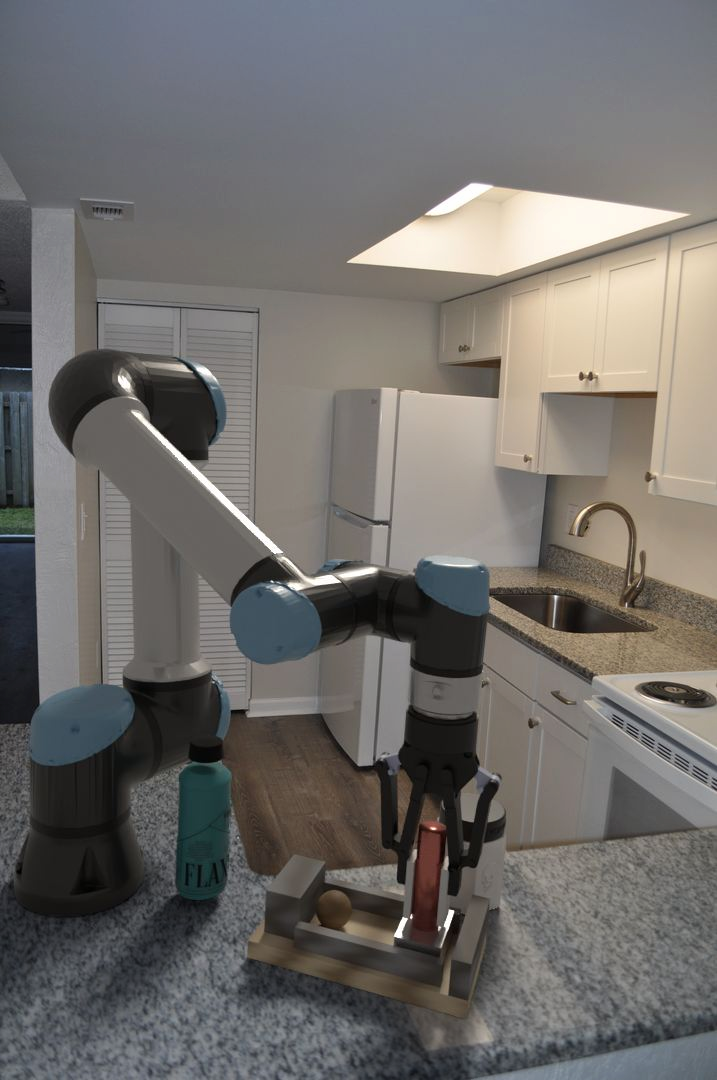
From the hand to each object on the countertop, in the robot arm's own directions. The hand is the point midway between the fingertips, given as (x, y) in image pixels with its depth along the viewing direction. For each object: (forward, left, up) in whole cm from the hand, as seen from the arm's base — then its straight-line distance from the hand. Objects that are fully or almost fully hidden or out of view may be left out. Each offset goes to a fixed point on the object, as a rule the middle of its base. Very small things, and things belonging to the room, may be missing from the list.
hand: (425, 915), depth 87 cm
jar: (+2, +15, -6) cm, 16 cm away
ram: (0, 0, -4) cm, 4 cm away
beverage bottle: (-28, +2, -6) cm, 29 cm away
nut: (-10, 0, -4) cm, 11 cm away
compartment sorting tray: (-6, 0, -6) cm, 9 cm away
